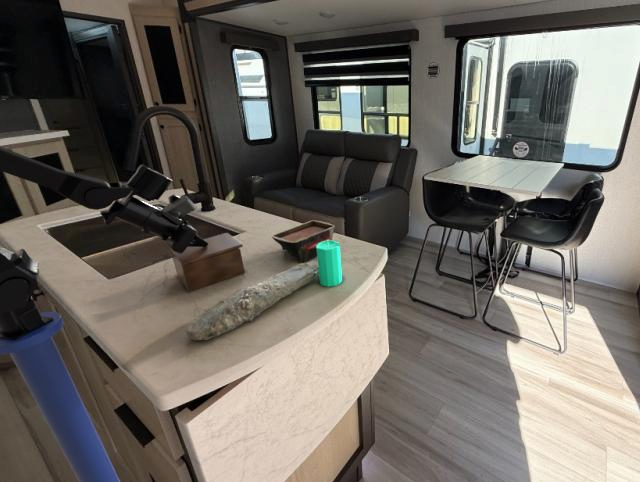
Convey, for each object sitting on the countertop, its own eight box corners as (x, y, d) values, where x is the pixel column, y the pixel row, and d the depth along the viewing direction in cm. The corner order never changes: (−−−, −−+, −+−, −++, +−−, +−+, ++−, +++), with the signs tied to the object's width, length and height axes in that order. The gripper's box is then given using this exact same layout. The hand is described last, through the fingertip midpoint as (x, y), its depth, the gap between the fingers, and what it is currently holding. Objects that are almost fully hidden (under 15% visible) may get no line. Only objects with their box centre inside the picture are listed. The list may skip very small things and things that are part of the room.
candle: (331, 289, 81) (327, 246, 77) (314, 282, 84) (310, 240, 80) (347, 278, 86) (344, 237, 81) (330, 272, 88) (327, 233, 84)
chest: (229, 259, 96) (225, 236, 94) (244, 272, 89) (240, 248, 86) (177, 275, 87) (170, 251, 85) (188, 291, 79) (181, 266, 77)
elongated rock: (333, 277, 88) (307, 270, 93) (331, 260, 87) (305, 253, 92) (205, 351, 59) (178, 335, 64) (199, 327, 58) (172, 312, 63)
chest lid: (227, 234, 94) (227, 232, 94) (243, 246, 86) (242, 244, 86) (170, 251, 85) (169, 248, 84) (181, 265, 77) (181, 263, 77)
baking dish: (273, 257, 101) (265, 231, 96) (318, 233, 113) (313, 208, 108) (299, 275, 93) (292, 247, 88) (345, 247, 105) (341, 221, 100)
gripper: (177, 195, 70) (238, 228, 81) (159, 181, 82) (214, 212, 93) (142, 238, 67) (210, 266, 78) (129, 217, 79) (190, 244, 91)
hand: (207, 245), depth 85 cm, fingers closed, pressing on chest lid
